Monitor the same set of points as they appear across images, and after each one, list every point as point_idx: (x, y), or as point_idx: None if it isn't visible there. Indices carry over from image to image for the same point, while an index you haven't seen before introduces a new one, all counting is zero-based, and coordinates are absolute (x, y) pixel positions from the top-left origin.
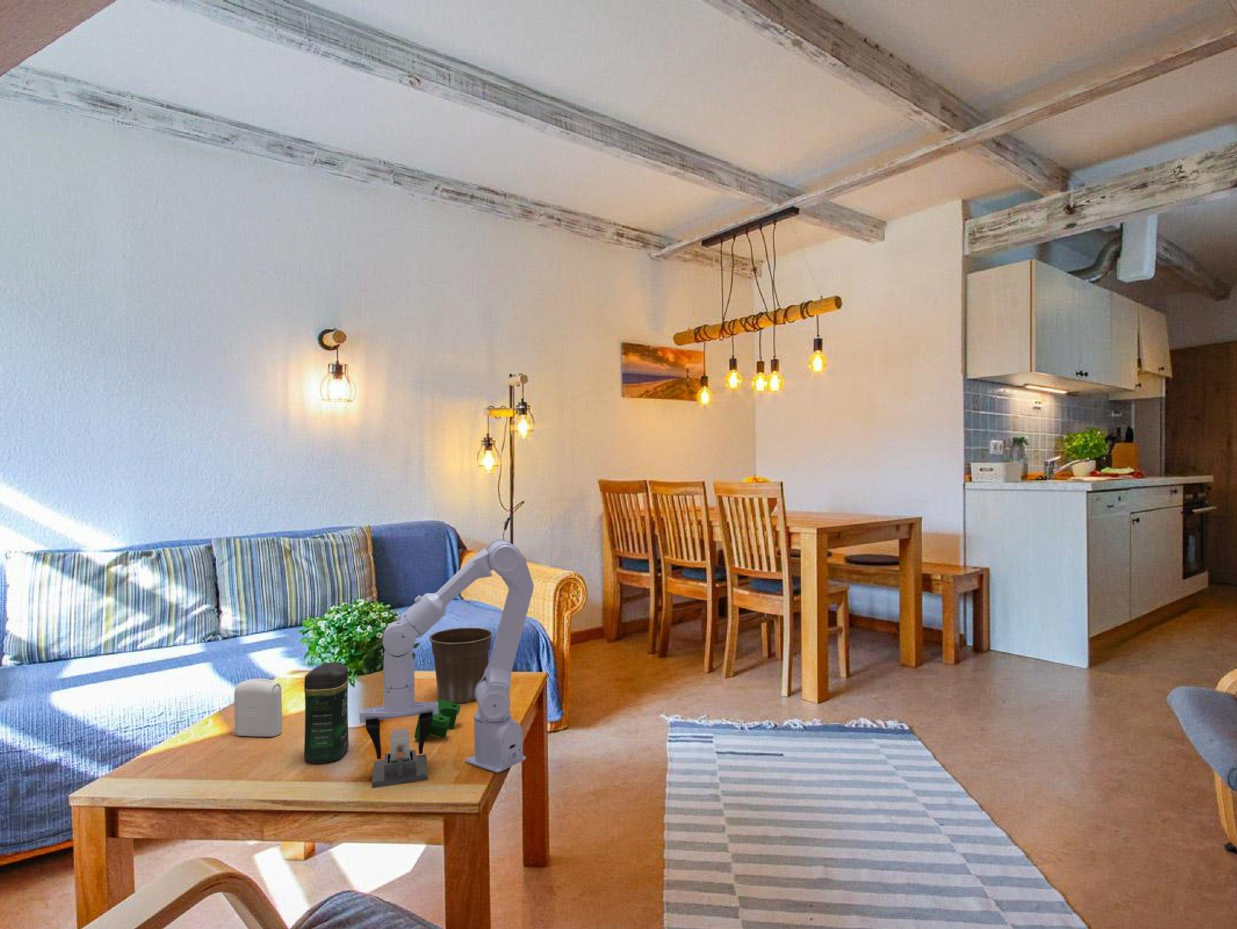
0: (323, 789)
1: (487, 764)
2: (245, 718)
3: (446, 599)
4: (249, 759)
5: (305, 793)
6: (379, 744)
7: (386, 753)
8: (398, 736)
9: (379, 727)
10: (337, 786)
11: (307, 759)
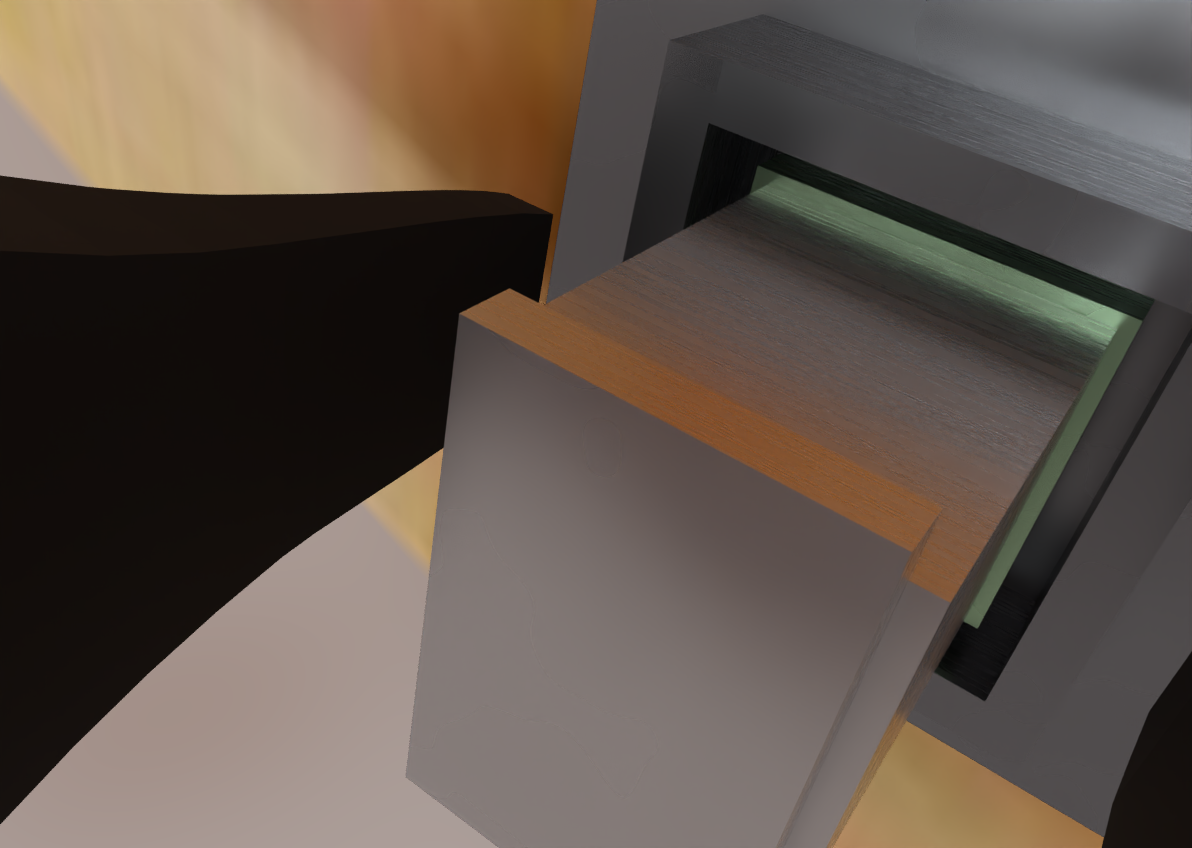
0: (195, 139)
1: None
2: None
3: None
4: None
5: (94, 117)
6: (311, 535)
7: (697, 51)
8: (530, 810)
9: (14, 632)
10: (288, 162)
11: None
